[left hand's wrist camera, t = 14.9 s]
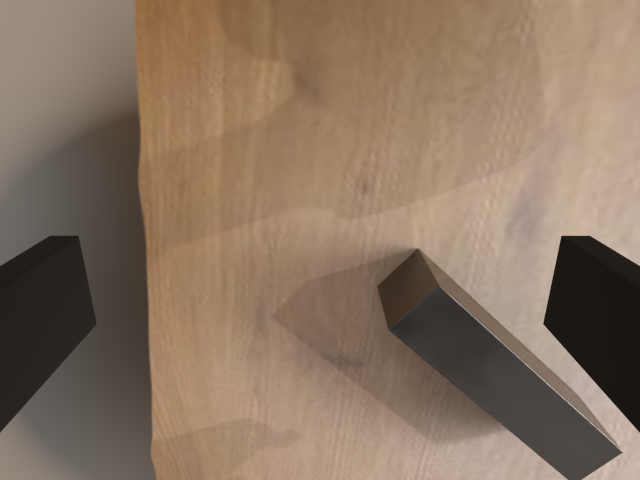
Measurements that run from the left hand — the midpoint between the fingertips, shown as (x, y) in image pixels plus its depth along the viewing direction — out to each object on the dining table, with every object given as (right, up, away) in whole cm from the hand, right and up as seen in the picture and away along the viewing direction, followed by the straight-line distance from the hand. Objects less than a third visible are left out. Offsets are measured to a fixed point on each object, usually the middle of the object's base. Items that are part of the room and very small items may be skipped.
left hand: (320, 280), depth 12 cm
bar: (+17, -10, +34) cm, 39 cm away
